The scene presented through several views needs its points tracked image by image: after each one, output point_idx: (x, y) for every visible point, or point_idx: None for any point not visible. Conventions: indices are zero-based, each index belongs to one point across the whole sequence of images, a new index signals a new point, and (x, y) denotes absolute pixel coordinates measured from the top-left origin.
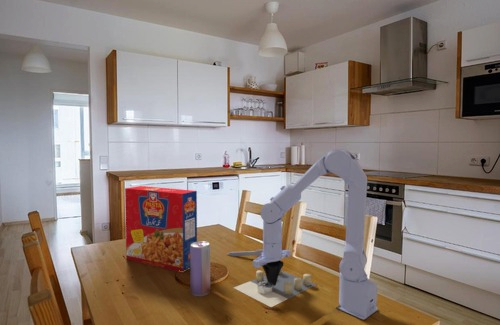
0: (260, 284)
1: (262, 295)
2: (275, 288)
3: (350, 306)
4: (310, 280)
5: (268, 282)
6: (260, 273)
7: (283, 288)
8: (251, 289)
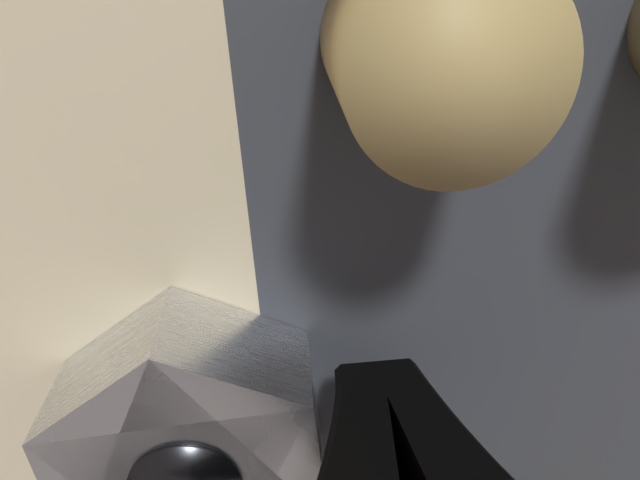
0: (102, 443)
1: None
2: None
3: None
4: None
5: (291, 459)
6: (392, 173)
7: None
8: (17, 238)
